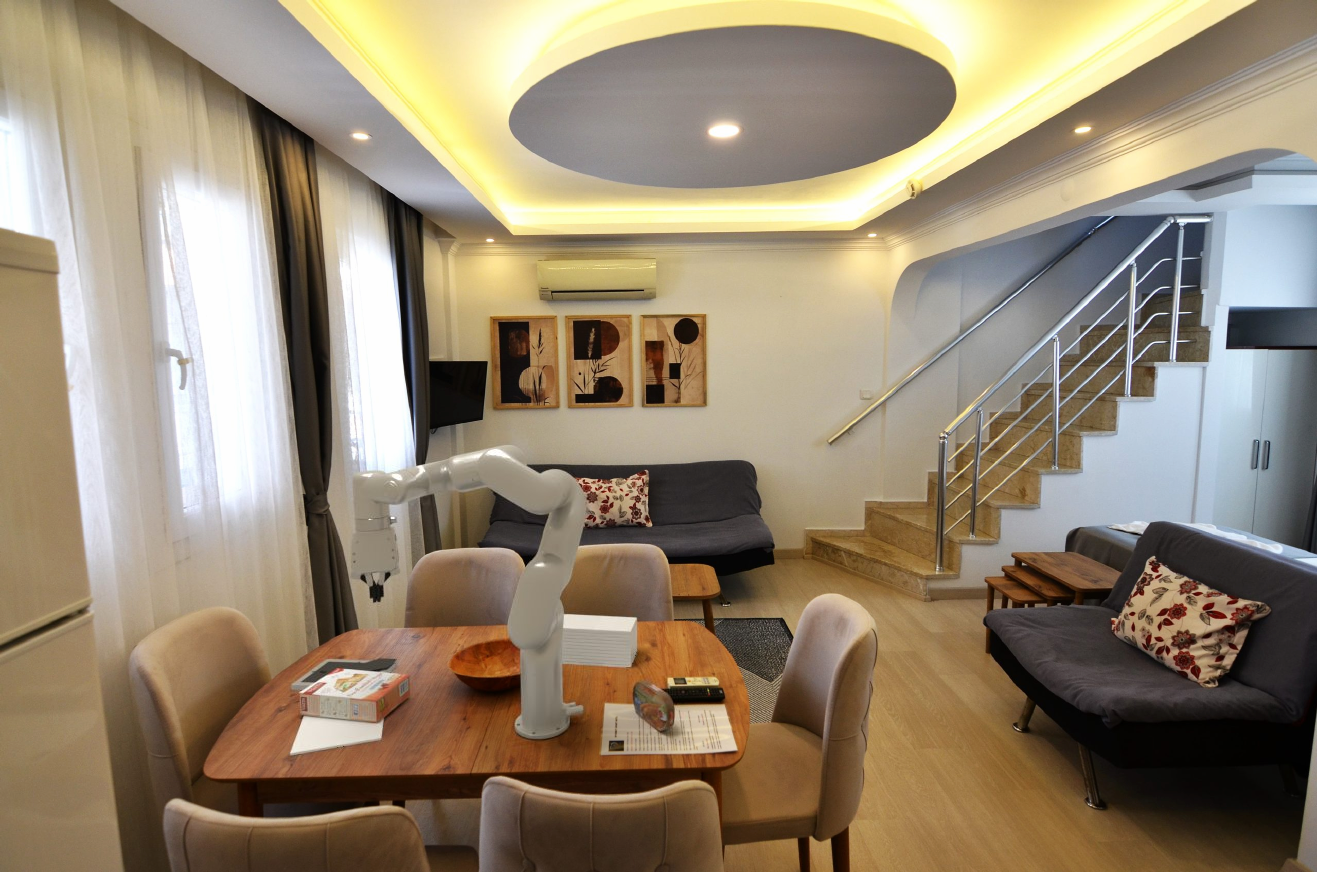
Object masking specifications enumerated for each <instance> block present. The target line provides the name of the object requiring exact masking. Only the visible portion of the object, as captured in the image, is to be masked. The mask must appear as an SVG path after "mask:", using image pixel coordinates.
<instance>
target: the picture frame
mask: <svg viewBox="0 0 1317 872" xmlns="http://www.w3.org/2000/svg"><path fill="white" fill-rule="evenodd" d="M397 660H398V659H397V658H387V657H386V658H382V657H380V658H376V659H372V660H371V659H370V660H367V659H344V658H343V659H342V658H341V659H339V658H338V659H337V658H326V659H325V660H324V661H321V662H320V663H319V664H317V665H316V666H315V667H313V668H312V669H311V670H309V671H308V672H307V673H305V674H304V675H303V676H301V677H299V678H297V680H295V681H294V682H292V683H291V684H290V690H291V691H300V690H304V689H306V688H307V687H309V686H310V685H312V684H314V683H315V682H317V681H318V680H320V679H321V678H323V677H325V676H326V675H328V674H329V673H331V672H332V671H334V670H335V669H337V668H341V669H351V670H362V671H373V672H384V673H390V672H391V673H393V671H394V670H396V668H397V667H398V661H397Z"/></svg>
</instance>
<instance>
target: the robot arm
mask: <svg viewBox="0 0 1317 872" xmlns="http://www.w3.org/2000/svg"><path fill="white" fill-rule="evenodd" d="M527 463H528V460H527V457H526V454H525V452H524V451H523V450H522V449H521V448H520V447H518V446H516V445H513V444H503V445H498V446H494V447H489V448H484V449H479V450H476V451H472V452H466V453H463V454H462V453H461V454H456V455H452V456H451V457H449V458H447V459H443V460H439V461H438V460H437V461H434V462H429V463H425V464H419V465H415V466H411V467H406V468H403V469H402V468H401V469H399V470H396V471H393V472H387V473H386V472H385V471H383V470H364V471H359V472H356V473H354V474H353V477H352V495H353V512H354V528H355V529H353V530H352V532H351V540H350V570H351V572H350V577H349V578H350V579H352V580H359V581H360V580H361V581H362V582H363V583H364V584H366V586H367V587H368V590H369V591H368V592H369V599H371V600H372V603H373V604H375V603H381V601H382V598H385V590H384V583H385V582H387V580H388V579H390V577H393V576H395V575H399V574H401V567H400V566H399V549H398V539H397V534H396V530H395V527H394V526H392V525H394V524H397V521H398V520H397V519H398V517H397V516H396V517H395V516H392V515H391V513H390V512H391V511H390V505H391V506H393V505H394V506H398V505H403V504H406V503H408V502H410V501H413V500H415V499H416V500H417V499H419V498H423V497H425V496H429V495H435V494H439V493H443V492H448V491H457V492H458V493H466V492H470V491H475V490H478V489H484V488H488V489H490V490H492V491H493V492H494V493H497V494H498V495H500V496H501V497H503V498H505V499H506V500H508V501H509V502H511V503H513V504H515V505H517V506H518V507H520V508H522V509H523V510H525V511H527V512H529V513H531V514H535V515H539V516H540V515H543V516H544V515H548V518H547V520H546V523H545V525H544V529H543V533H542V536H541V537H542V538H541V540H540V544H539V547H538V551H537V553H536V555H535V556H534V557H533V558H532V560H530V561H529V562H528V563H527V565H526V566H525V567H524V568H523V570H522V572H521V574H520V577H519V580H518V583H517V587H516V590H515V593H514V597H513V600H512V605H511V609H510V612H509V616H508V619H507V627H506V628H507V629H506V630H507V634H508V637H509V639H510V641H511V643H512V644H513V645H514V646H515V647H516V648H518V649H520V651H519V652H520V654H519V655H520V656H519V657H520V663H519V664H520V694H521V695H520V702H521V703H520V705H521V706H520V709H521V710H520V711H521V714H520V715H519V716H518V717H517V718H516V719H515V721H514V731H515V732H516V734H518V735H519V736H521V737H523V738H525V739H530V740H545V739H550V738H553V737H556V736H559V735H561V734H562V733H565V731H566V730H567V729H568V728H569V726H570V725H571V724H570V722H571V721H570V720H571V719H570V717H571V716H573V715H575V716H576V715H582V714H584V706H583V704H580V705H576V702H575V701H573V702H572V701H571V702H569V703H566V702H564V700H563V698H564V697H563V696H564V693H563V664H562V636H563V624H564V614H565V611H564V609H565V608H564V606H563V602H562V600H561V599H560V598H561V596H562V593H563V591H564V590H565V588H566V587H567V586H568V584H569V582H570V580H571V578H572V575H573V570H574V566H575V561H576V558H577V554H578V550H579V547H580V543H581V538H582V534H583V530H584V525H585V521H586V516H587V501H586V497H585V493H584V490H583V488H582V486H581V485H580V484H579V482H578V481H577V480H576V479H575V477H573V476H572V475H571V474H570V473H568V472H567V471H564V470H563V469H562V470H561V469H557V468H556V469H555V468H552V469H548V470H545V471H542V472H541V473H540V472H538V471H536V470H534V469H533V468H531V467H529V466H528V465H527ZM377 573H379V574H378V580H377V582H376V580H374V575H373V574H377Z"/></svg>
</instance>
